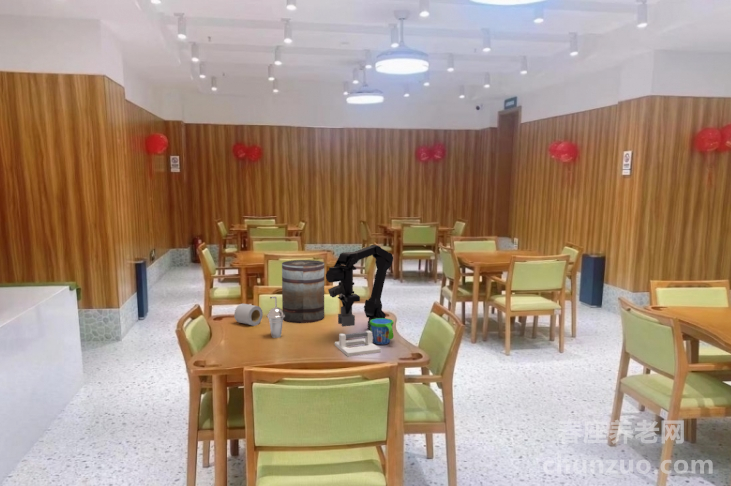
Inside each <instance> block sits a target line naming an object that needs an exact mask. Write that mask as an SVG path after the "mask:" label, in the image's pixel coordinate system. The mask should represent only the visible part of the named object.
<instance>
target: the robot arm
mask: <svg viewBox="0 0 731 486" xmlns="http://www.w3.org/2000/svg"><path fill="white" fill-rule="evenodd" d="M371 256H372V257H373V258H374V259H375V267H376V272H375V276H374V281H373V285H372V289H371V295H370V297H369V298H368V299H365V301H364V306H363V308H364V309H363V312H364V313H365V318H366V319H367V318H368V321H367V328H366V329H367V331H371V330H370V327H371V325H370V320H372V319H376V318H386V314H385V312H384V311H383V310H382V309H383V303H382V300H381V299H382V295H383V294H382V293H383V289H384V285H385V280H386V276H387V272H388V270H389V269H390V267H392V264H393V262H394V256H393V253H391V252H389V251H388V250H385V249H383V248H382V247H381V246H380V245H377V244H371V245H369V246H366V247H364V248H360V249H359V250H358V249H357V250H355V251H345V252H341V253H340V254H339V256H338V257H337V260H336V262H335V263H334V265H333V267H332V266H330V267H328V270H327V271H326V274H325V279H326V281H327V282H328V283H338V285H335V286H332V287H331V288H328V290H327V291H328V294H329V296H330V297H332V298H336V297H337V298H338V299H339V301H341V303H342V306H345V310H346V314H348V313H349V311H350V309H351V307H352V308H353V305H354V303H355V302H360V301H361V296H360V295H359V294H357V293H355V291H354V286H355V282H354V271H356V270H357V269H358V268H357V267H356V266H355V265H356V264H358V262H359V261H360V260H363V259H367V258H368V257H371Z"/></svg>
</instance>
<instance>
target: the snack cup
mask: <svg viewBox="0 0 731 486" xmlns="http://www.w3.org/2000/svg"><path fill="white" fill-rule="evenodd" d="M370 325H371V327H370V330H371V332H372V343H373V344H375V345H387V344H389V343H390V342H391V340H393V339H394V331H393V325H394V320H393V319H390V318H386V317H385V318H376V319H372V320H370Z"/></svg>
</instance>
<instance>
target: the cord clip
mask: <svg viewBox="0 0 731 486" xmlns="http://www.w3.org/2000/svg"><path fill="white" fill-rule="evenodd" d="M355 317H356V315H354V314H353V306H352V307H351V309H350V311H349V313H348V314H346V310H345V306H343V305H342V306H340V313H338V314H337V324H338V325H341V327H351V326H352V327H353V326H356V325H355V324H356V323H355V321H356V319H355Z"/></svg>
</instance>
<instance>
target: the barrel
mask: <svg viewBox="0 0 731 486" xmlns="http://www.w3.org/2000/svg"><path fill="white" fill-rule="evenodd" d="M281 291H282V292H281V294H282V295H281V296H282V298H281V299H282V300H281V304H282V305H281V306H282V307H281V310H282V311H283V313H284V314H285V317H284V318H283V322H284V321H285V322H287V323H292V324H312V323H317V322H321V321H323V320H324V319H325V262H324V261H320V260H315V259H314V260H311V259H298V260H297V259H296V260H287V261H283V262H281Z"/></svg>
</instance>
